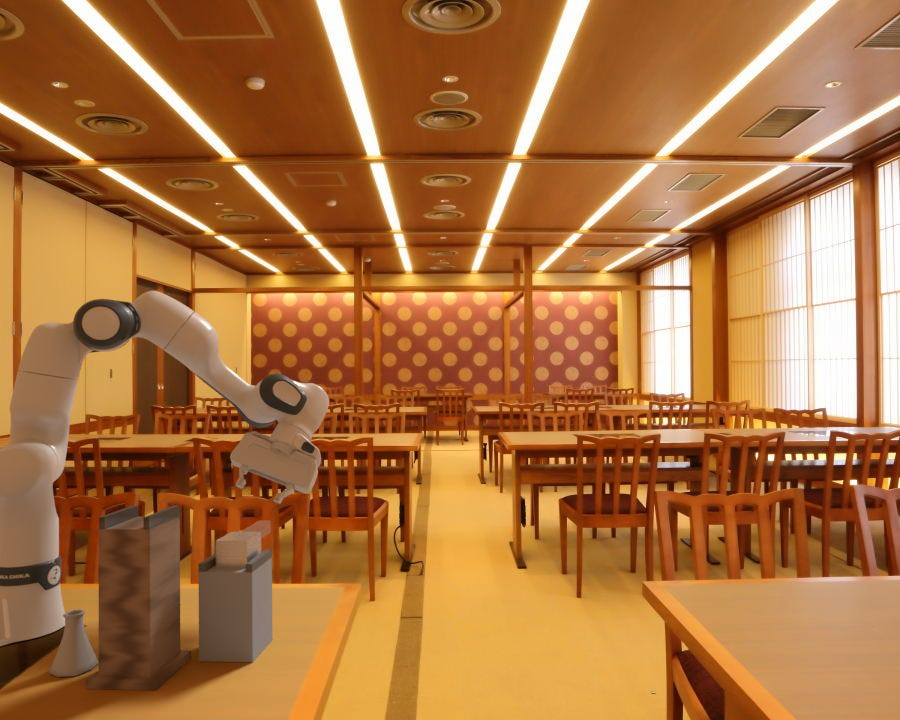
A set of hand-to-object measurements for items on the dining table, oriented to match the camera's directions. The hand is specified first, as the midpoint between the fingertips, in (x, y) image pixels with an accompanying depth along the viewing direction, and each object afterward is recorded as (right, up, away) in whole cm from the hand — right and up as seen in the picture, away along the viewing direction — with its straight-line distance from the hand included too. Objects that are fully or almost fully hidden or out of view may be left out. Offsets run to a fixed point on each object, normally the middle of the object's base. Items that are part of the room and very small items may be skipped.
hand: (257, 494), depth 145 cm
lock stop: (+3, -9, -17) cm, 19 cm away
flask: (-23, -25, -30) cm, 46 cm away
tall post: (-11, -24, -32) cm, 42 cm away
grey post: (+3, -24, -23) cm, 34 cm away
